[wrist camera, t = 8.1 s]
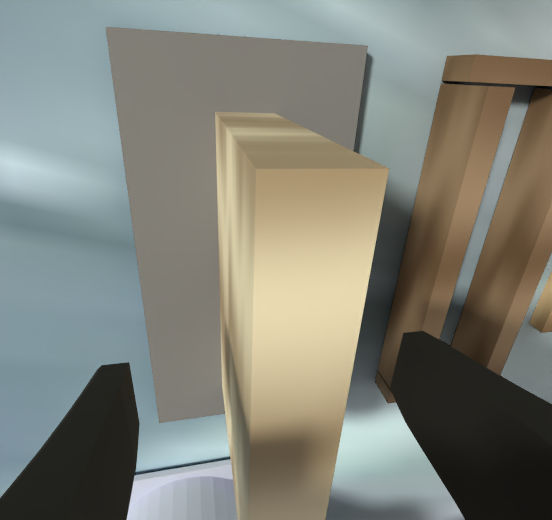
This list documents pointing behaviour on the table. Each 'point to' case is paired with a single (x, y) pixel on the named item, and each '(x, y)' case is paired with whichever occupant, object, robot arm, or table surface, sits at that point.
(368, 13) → the table surface
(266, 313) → the wooden block
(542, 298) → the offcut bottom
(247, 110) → the mat
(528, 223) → the frame
